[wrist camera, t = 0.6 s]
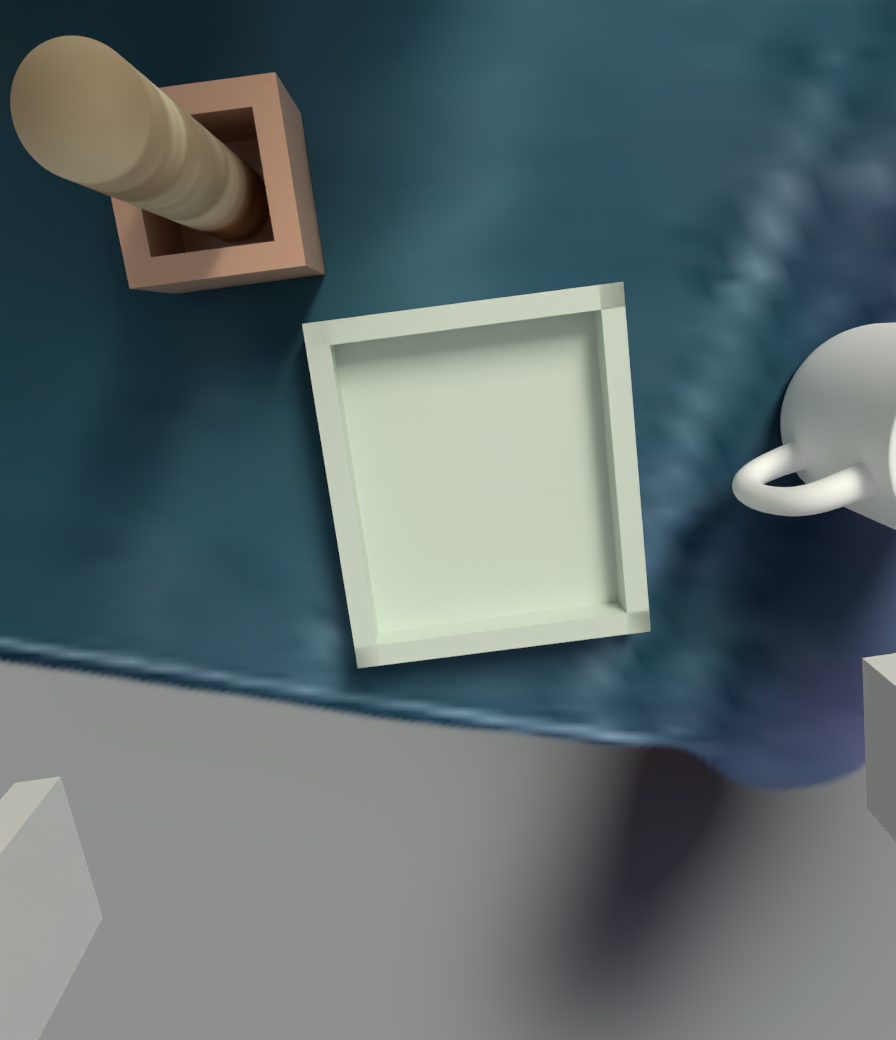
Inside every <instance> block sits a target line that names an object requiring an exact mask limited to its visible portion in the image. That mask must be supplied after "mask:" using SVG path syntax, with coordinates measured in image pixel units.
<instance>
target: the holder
mask: <svg viewBox="0 0 896 1040" xmlns="http://www.w3.org/2000/svg"><path fill="white" fill-rule="evenodd" d="M159 89H160V90H161V91H162V92H164V93H165V94H166V95H167V96H168V97H169V98H171V99H172V100H173V101H174V102H175V103H176V104H178V105H179V106H180V107H181V108H182V109H183V110H185V111H186V112H187V113H188V114H189V115H190V116H192V117H193V118H194V119H195V120H196V121H197V122H199V123H200V124H201V125H202V126H203V127H204V128H206V129H207V130H208V131H209V132H210V133H211V134H213V135H214V136H215V137H216V138H217V139H218V140H220V141H221V142H222V143H223V144H224V145H225V146H227V147H228V148H229V149H230V150H231V151H232V152H234V153H235V154H236V155H237V156H238V157H239V158H241V159H242V160H243V161H244V162H245V163H246V164H248V165H249V166H250V167H251V168H252V169H253V170H255V171H256V172H257V173H258V174H259V175H260V177H261V178H262V179H263V181H264V182H265V186H266V192H267V199H268V205H269V211H270V212H269V216H268V219H267V221H266V223H265V225H264V227H263V228H262V229H261V230H260V231H259V232H258V233H257V234H256V235H255V236H253V237H252V238H250V239H247V240H245V241H240V242H228V241H223V240H221V239H218V238H215V237H213V236H210V235H208V234H205V233H203V232H200V231H197V230H195V229H192V228H190V227H187V226H185V225H182V224H180V223H177V222H174V221H172V220H169V219H167V218H164V217H162V216H159V215H157V214H154V213H152V212H149V211H146V210H144V209H141V208H139V207H136V206H134V205H131V204H129V203H126V202H123V201H121V200H118V199H116V198H113V197H111V200H112V205H113V210H114V215H115V220H116V225H117V230H118V235H119V240H120V244H121V249H122V254H123V259H124V264H125V269H126V274H127V279H128V284H129V289H136V290H145V291H154V292H163V293H172V294H181V293H188V292H196V291H203V290H211V289H219V288H226V287H234V286H241V285H249V284H256V283H264V282H272V281H279V280H287V279H294V278H302V277H310V276H317V275H325V268H324V262H323V255H322V249H321V242H320V236H319V229H318V223H317V216H316V210H315V203H314V197H313V190H312V184H311V177H310V171H309V164H308V158H307V151H306V145H305V138H304V132H303V125H302V119H301V113H300V111H299V109H298V108H297V106H296V105H295V103H294V101H293V100H292V98H291V96H290V95H289V93H288V92H287V90H286V88H285V87H284V85H283V84H282V82H281V80H280V79H279V77H278V76H277V74H276V72H273V73H265V74H258V75H250V76H243V77H235V78H228V79H220V80H213V81H206V82H198V83H191V84H183V85H176V86H168V87H161V88H159Z"/></svg>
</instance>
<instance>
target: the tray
mask: <svg viewBox="0 0 896 1040" xmlns="http://www.w3.org/2000/svg"><path fill="white" fill-rule="evenodd" d="M302 327H303V333H304V339H305V346H306V352H307V358H308V364H309V370H310V376H311V383H312V389H313V395H314V401H315V407H316V414H317V420H318V426H319V432H320V438H321V444H322V451H323V457H324V463H325V469H326V475H327V481H328V488H329V494H330V500H331V506H332V512H333V519H334V525H335V531H336V537H337V543H338V549H339V556H340V562H341V568H342V574H343V580H344V586H345V593H346V599H347V605H348V611H349V617H350V624H351V630H352V636H353V642H354V648H355V654H356V661H357V667H358V668H365V667H373V666H381V665H389V664H397V663H405V662H412V661H420V660H428V659H436V658H444V657H452V656H460V655H468V654H476V653H483V652H491V651H499V650H507V649H515V648H523V647H531V646H539V645H546V644H554V643H562V642H570V641H578V640H586V639H594V638H602V637H609V636H617V635H625V634H633V633H641V632H649V631H651V629H650V616H649V603H648V591H647V578H646V565H645V552H644V540H643V527H642V514H641V502H640V489H639V476H638V464H637V451H636V438H635V425H634V413H633V400H632V387H631V375H630V362H629V349H628V337H627V324H626V311H625V298H624V286H623V282H618V283H610V284H602V285H595V286H587V287H580V288H572V289H564V290H557V291H549V292H542V293H534V294H526V295H519V296H511V297H503V298H496V299H488V300H481V301H473V302H465V303H458V304H450V305H443V306H435V307H427V308H420V309H412V310H404V311H397V312H389V313H382V314H374V315H366V316H359V317H351V318H343V319H336V320H328V321H321V322H313V323H305V324H302Z"/></svg>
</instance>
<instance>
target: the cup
mask: <svg viewBox="0 0 896 1040" xmlns="http://www.w3.org/2000/svg"><path fill="white" fill-rule="evenodd" d="M780 427H781V437H782V443H783V445H782V446H780V447H778V448H776V449H773V450H771V451H769V452H767V453H765V454H763V455H761V456H759V457H757V458H755V459H753V460H752V461H750V462H748V463H747V464H746V465H744V466H743V467H742V468H741V469H740V470H739V471H738V472H737V473H736V475H735V477H734V479H733V482H732V489H733V493H734V494H735V496H736V498H737V499H738V500H739V501H740V502H742V503H743V504H745V505H746V506H748V507H750V508H752V509H754V510H757V511H761V512H764V513H769V514H774V515H781V516H807V515H814V514H819V513H823V512H827V511H831V510H834V509H837V508H840V507H845V508H848V509H850V510H852V511H854V512H856V513H859V514H861V515H863V516H865V517H868V518H870V519H872V520H874V521H877V522H879V523H881V524H883V525H886V526H888V527H890V528H892V529H895V530H896V323H878V324H870V325H865V326H860V327H856V328H853V329H850V330H847V331H845V332H842V333H840V334H838V335H836V336H834V337H832V338H831V339H829V340H827V341H826V342H825V343H823V344H822V345H820V346H819V347H818V348H817V349H815V350H814V351H813V352H812V353H811V354H810V355H809V356H808V357H807V358H806V360H805V361H804V362H803V363H802V364H801V366H800V367H799V369H798V370H797V371H796V373H795V375H794V376H793V378H792V380H791V382H790V384H789V386H788V388H787V391H786V394H785V397H784V400H783V404H782V410H781V419H780ZM794 472H796V473H797V475H798V476H799V477H800V478H801V479H802V480H803V481H804V482H805V485H801V486H795V487H773V486H768V485H764V484H765V483H767V482H770V481H772V480H774V479H777V478H779V477H782V476H785V475H788V474H791V473H794Z"/></svg>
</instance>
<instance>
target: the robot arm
mask: <svg viewBox="0 0 896 1040" xmlns="http://www.w3.org/2000/svg"><path fill="white" fill-rule="evenodd" d="M862 661H863V692H864V723H865V755H866V783H867V784H866V786H867V808H868V810H869V811H870V812H871V813H872V814H873V816H874V817H875V818H876V819H877V820H878V821H879V823H880V824H881V825H882V826H883V827H884V828H885V830H886V831H887V832H888V833H889V834H890V835H891V836H892V838H893V839H894V840H895V841H896V653H894V654H887V655H881V656H874V657H867V658H862ZM102 919H103V917H102V914H101V910H100V907H99V904H98V900H97V897H96V894H95V890H94V887H93V883H92V880H91V877H90V873H89V870H88V867H87V863H86V860H85V857H84V853H83V850H82V847H81V843H80V840H79V837H78V833H77V830H76V826H75V823H74V820H73V817H72V813H71V810H70V806H69V803H68V800H67V796H66V793H65V790H64V786H63V783H62V780H61V777H52V778H46V779H39V780H33V781H25V782H18V783H14V785H13V786H12V787H11V788H10V789H9V790H8V791H7V793H6V794H5V795H4V796H3V797H2V798H1V800H0V1040H39V1038H40V1036H41V1034H42V1032H43V1030H44V1028H45V1027H46V1025H47V1023H48V1021H49V1019H50V1017H51V1015H52V1013H53V1012H54V1009H55V1008H56V1006H57V1004H58V1002H59V1000H60V998H61V996H62V995H63V992H64V991H65V989H66V987H67V985H68V983H69V981H70V979H71V977H72V976H73V974H74V972H75V969H76V968H77V966H78V964H79V962H80V960H81V959H82V957H83V955H84V953H85V951H86V949H87V947H88V945H89V943H90V942H91V940H92V938H93V936H94V934H95V932H96V930H97V928H98V926H99V924H100V922H101V921H102Z"/></svg>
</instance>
